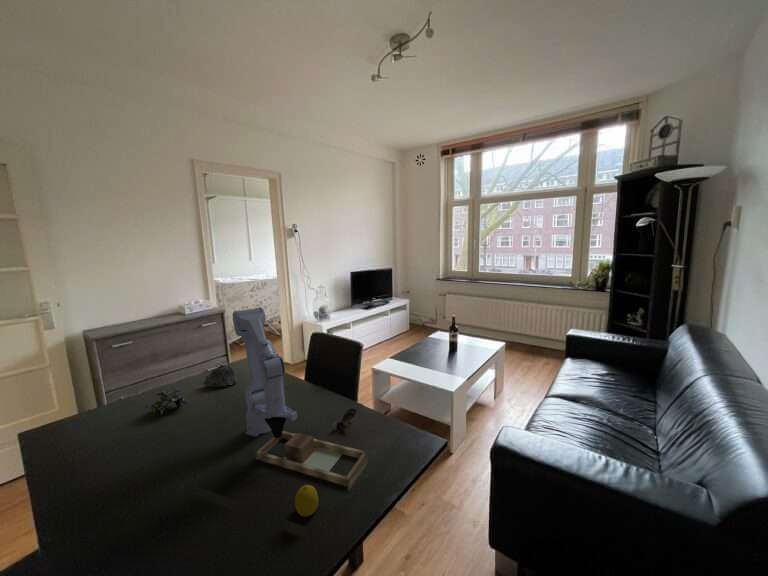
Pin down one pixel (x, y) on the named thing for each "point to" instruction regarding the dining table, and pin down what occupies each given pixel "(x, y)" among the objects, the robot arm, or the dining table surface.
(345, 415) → the eagle figurine
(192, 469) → the dining table surface
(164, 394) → the passion flower
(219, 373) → the mineral rock
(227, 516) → the dining table surface
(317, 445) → the frame
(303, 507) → the lemon
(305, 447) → the walnut block
